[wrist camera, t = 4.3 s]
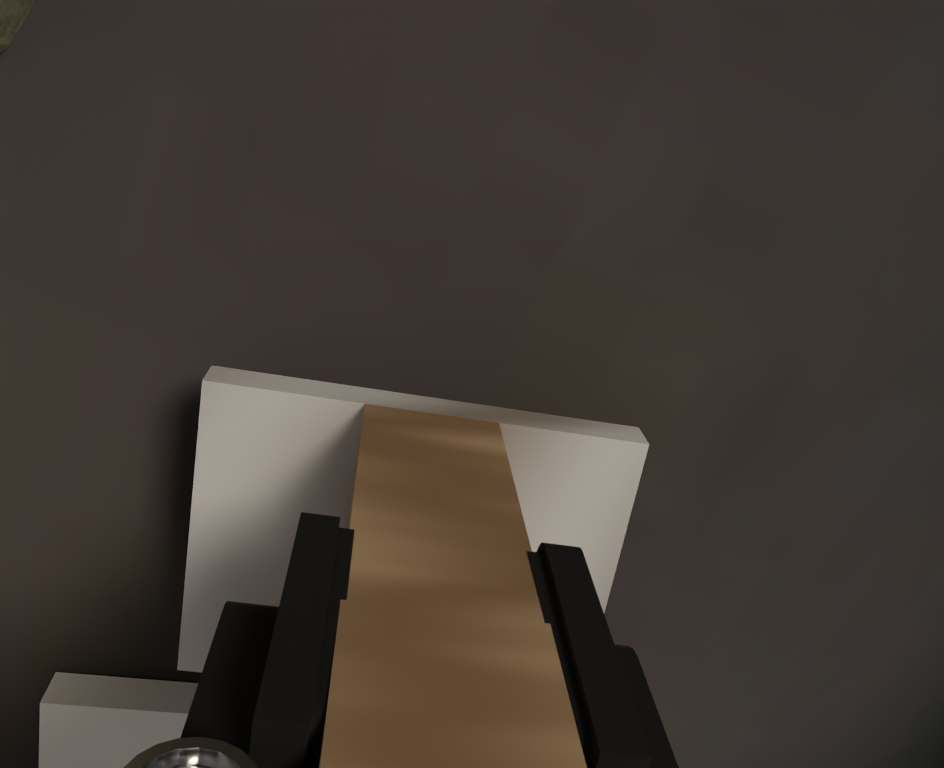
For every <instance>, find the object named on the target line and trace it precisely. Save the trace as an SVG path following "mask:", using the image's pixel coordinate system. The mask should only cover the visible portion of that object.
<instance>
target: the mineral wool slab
mask: <svg viewBox="0 0 944 768" xmlns="http://www.w3.org/2000/svg"><path fill="white" fill-rule="evenodd" d="M36 1H37V0H0V53H1V52H2V51H3V50H5V49H6V48H7V47H8V46H9V45H10V43H11V42H12V40H13V39H14V37H15V35H16V34H17V32H18V30H19V29H20V27H21V26H22V24H23V22H24V21H25V19H26V17H27V16H28V14H29V12H30V11H31V9H32V7H33V6H34V4H35V2H36Z"/></svg>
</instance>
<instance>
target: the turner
mask: <svg viewBox="0 0 944 768" xmlns="http://www.w3.org/2000/svg"><path fill="white" fill-rule="evenodd" d="M648 447H649V443H648V442H647V440H646V438H645V437H644V435H643V434H642V432H641V431H640V429H639V427H632V426H625V425H618V424H611V423H604V422H597V421H590V420H583V419H577V418H570V417H563V416H556V415H549V414H542V413H535V412H528V411H521V410H515V409H508V408H501V407H494V406H487V405H480V404H473V403H466V402H459V401H453V400H446V399H439V398H432V397H425V396H418V395H411V394H404V393H398V392H391V391H384V390H377V389H370V388H363V387H356V386H349V385H342V384H336V383H329V382H322V381H315V380H308V379H301V378H294V377H287V376H280V375H274V374H267V373H260V372H253V371H246V370H239V369H232V368H225V367H218V366H211V368H210V369H209V371H208V372H207V374H206V375H205V377H204V378H203V380H202V388H201V400H200V411H199V423H198V434H197V446H196V458H195V469H194V481H193V492H192V504H191V515H190V527H189V538H188V550H187V562H186V573H185V585H184V596H183V608H182V619H181V631H180V642H179V654H178V666H177V670H182V671H192V672H201V673H202V671H203V668H204V665H205V662H206V658H207V655H208V652H209V649H210V646H211V643H212V640H213V637H214V634H215V631H216V628H217V625H218V622H219V619H220V616H221V613H222V610H223V608H224V605H225V603H226V602H227V601H233V602H242V603H250V604H259V605H268V606H277V607H279V605H280V600H281V596H282V592H283V588H284V583H285V579H286V575H287V570H288V566H289V562H290V557H291V553H292V549H293V544H294V540H295V536H296V531H297V527H298V523H299V518H300V514H301V512H305V513H313V514H321V515H329V516H337V517H340V524H339V527H340V528H348V529H354V530H355V531H354V540H353V549H352V557H351V566H350V575H349V584H348V593H347V600H341V601H340V609H339V617H338V624H337V632H336V640H335V648H334V656H333V664H332V672H331V680H330V688H329V696H328V704H327V712H326V719H325V726H324V733H323V740H322V747H321V754H320V760H319V766H318V768H587V766H586V762H585V758H584V754H583V750H582V747H581V743H580V739H579V735H578V731H577V727H576V723H575V719H574V715H573V711H572V707H571V703H570V699H569V696H568V692H567V688H566V684H565V680H564V676H563V672H562V668H561V664H560V660H559V656H558V652H557V648H556V644H555V641H554V637H553V633H552V629H551V625H550V624H548V623H545V622H544V618H543V614H542V610H541V606H540V602H539V597H538V593H537V589H536V585H535V581H534V577H533V573H532V569H531V565H530V561H529V557H528V553H527V551H530V552H537V549H538V547H539V545H540V544H541V543H542V542H543V543H550V544H558V545H566V546H574V547H580V548H581V549H582V551H583V554H584V557H585V560H586V562H587V565H588V568H589V571H590V574H591V577H592V580H593V583H594V586H595V589H596V592H597V595H598V598H599V601H600V604H601V607H602V610H603V613H604V612H605V608H606V605H607V601H608V597H609V593H610V590H611V586H612V582H613V578H614V575H615V571H616V567H617V563H618V560H619V556H620V552H621V548H622V545H623V541H624V537H625V533H626V530H627V526H628V522H629V518H630V515H631V511H632V507H633V503H634V500H635V496H636V492H637V488H638V485H639V481H640V477H641V473H642V469H643V466H644V462H645V458H646V454H647V451H648Z"/></svg>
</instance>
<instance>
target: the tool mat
mask: <svg viewBox="0 0 944 768" xmlns="http://www.w3.org/2000/svg"><path fill="white" fill-rule="evenodd" d="M197 686H198V683H188V682H176V681H163V680H150V679H138V678H125V677H112V676H100V675H87V674H74V673H62V672H55V674H54V676H53V678H52V680H51V682H50V684H49V686H48V688H47V690H46V692H45V694H44V696H43V698H42V700H41V702H40V724H39V768H123V767H125V766H126V765H127V764H128V763H129V762H130V761H131V760H132V759H133V758H134V757H135V756H136V755H137V754H139V753H141V752H143V751H145V750H147V749H149V748H150V747H152V746H154V745H156V744H159V743H162V742H166V741H170V740H173V739H177V738H180V737H181V734H182V731H183V728H184V725H185V722H186V719H187V716H188V713H189V710H190V707H191V704H192V701H193V698H194V695H195V692H196V689H197Z"/></svg>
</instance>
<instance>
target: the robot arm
mask: <svg viewBox="0 0 944 768" xmlns="http://www.w3.org/2000/svg"><path fill="white" fill-rule="evenodd" d="M339 524H340V517H337V516H329V515H321V514H313V513H305V512H301V514H300V518H299V523H298V527H297V531H296V536H295V540H294V544H293V549H292V553H291V557H290V562H289V566H288V570H287V575H286V579H285V583H284V588H283V592H282V596H281V600H280V605H279V607H277V606H268V605H259V604H250V603H242V602H233V601H227V602H226V603H225V605H224V608H223V610H222V613H221V616H220V619H219V622H218V625H217V628H216V631H215V634H214V637H213V640H212V643H211V646H210V649H209V652H208V655H207V658H206V662H205V665H204V668H203V671H202V674H201V677H200V680H199V683H198V686H197V689H196V692H195V695H194V698H193V701H192V704H191V707H190V710H189V713H188V716H187V719H186V722H185V725H184V728H183V731H182V734H181V737H180V738H177V739H173V740H170V741H166V742H162V743H159V744H156V745H154V746H152V747H150V748H149V749H147V750H145V751H143V752H141V753H139V754H137V755H136V756H135V757H134V758H133V759H132V760H131V761H130V762H129V763H128V764H127V765H126V766H125V767H123V768H318V766H319V760H320V754H321V747H322V740H323V733H324V726H325V719H326V712H327V704H328V696H329V688H330V680H331V672H332V664H333V656H334V648H335V640H336V632H337V624H338V617H339V609H340V601H341V600H347V593H348V584H349V575H350V566H351V557H352V549H353V540H354V531H355V530H354V529H348V528H340V527H339ZM527 553H528V557H529V561H530V565H531V569H532V573H533V577H534V581H535V585H536V589H537V593H538V597H539V602H540V606H541V610H542V614H543V618H544V622H545V623H548V624H550V625H551V629H552V633H553V637H554V641H555V644H556V648H557V652H558V656H559V660H560V664H561V668H562V672H563V676H564V680H565V684H566V688H567V692H568V696H569V699H570V703H571V707H572V711H573V715H574V719H575V723H576V727H577V731H578V735H579V739H580V743H581V747H582V750H583V754H584V758H585V762H586V766H587V768H678V765H677V762H676V760H675V757H674V754H673V751H672V749H671V746H670V743H669V741H668V738H667V735H666V732H665V730H664V727H663V724H662V722H661V719H660V716H659V714H658V711H657V708H656V705H655V703H654V700H653V697H652V695H651V692H650V689H649V686H648V684H647V681H646V678H645V676H644V673H643V670H642V667H641V665H640V662H639V659H638V657H637V655H636V653H635V651H634V649H632V648H631V647H629V646H622V645H614V642H613V639H612V636H611V634H610V631H609V628H608V625H607V622H606V619H605V616H604V613H603V610H602V607H601V604H600V601H599V598H598V595H597V592H596V589H595V586H594V583H593V580H592V577H591V574H590V571H589V568H588V565H587V562H586V560H585V557H584V554H583V551H582V549H581V548H580V547H574V546H566V545H558V544H550V543H543V542H542V543H541V544H540V545H539V547H538V549H537V552H530V551H527Z"/></svg>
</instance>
